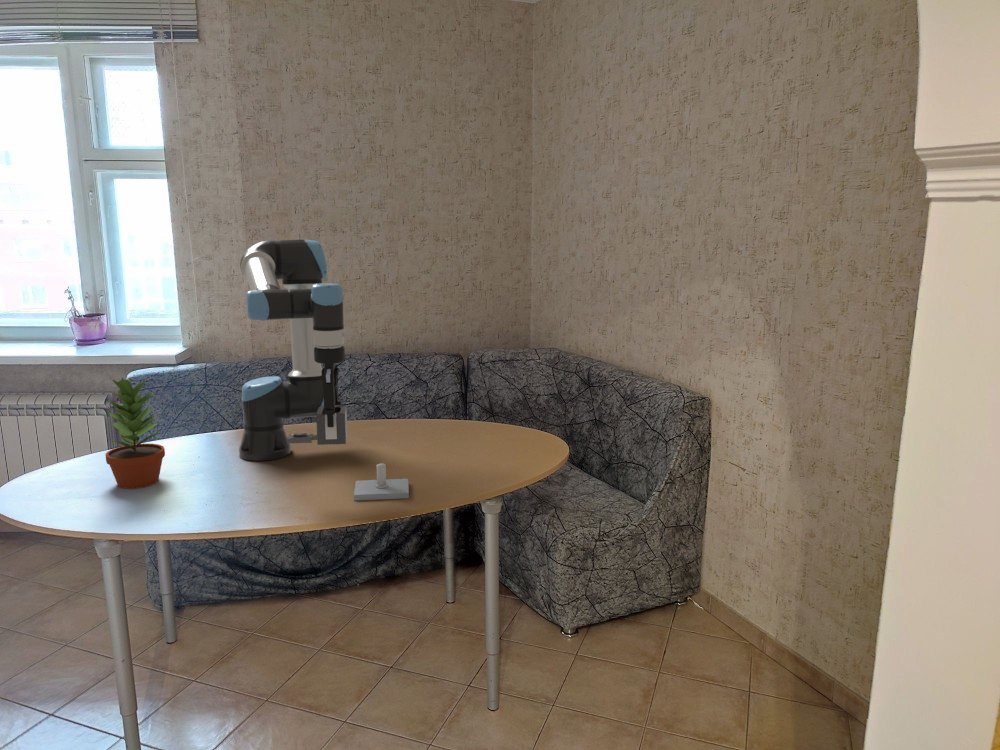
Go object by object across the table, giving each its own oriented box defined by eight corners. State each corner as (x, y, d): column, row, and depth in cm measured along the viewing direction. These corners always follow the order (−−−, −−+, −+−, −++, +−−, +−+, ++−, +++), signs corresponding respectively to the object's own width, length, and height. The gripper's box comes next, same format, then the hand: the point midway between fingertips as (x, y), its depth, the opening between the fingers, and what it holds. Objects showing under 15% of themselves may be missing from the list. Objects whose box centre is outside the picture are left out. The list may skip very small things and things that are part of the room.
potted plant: (180, 478, 210) (171, 372, 204) (130, 495, 197) (119, 382, 191) (146, 469, 217) (137, 366, 211) (96, 484, 204) (84, 376, 198)
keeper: (353, 500, 194) (352, 472, 193) (356, 485, 205) (355, 459, 203) (408, 498, 196) (408, 470, 194) (408, 483, 207) (407, 457, 205)
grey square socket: (286, 445, 189) (284, 414, 187) (290, 437, 196) (288, 407, 194) (345, 443, 191) (344, 413, 189) (347, 436, 198) (346, 406, 196)
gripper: (341, 352, 180) (345, 445, 184) (346, 339, 199) (349, 423, 204) (309, 353, 179) (313, 446, 183) (317, 339, 198) (321, 424, 203)
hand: (332, 434), depth 194 cm, fingers closed on grey square socket, 7 cm apart
